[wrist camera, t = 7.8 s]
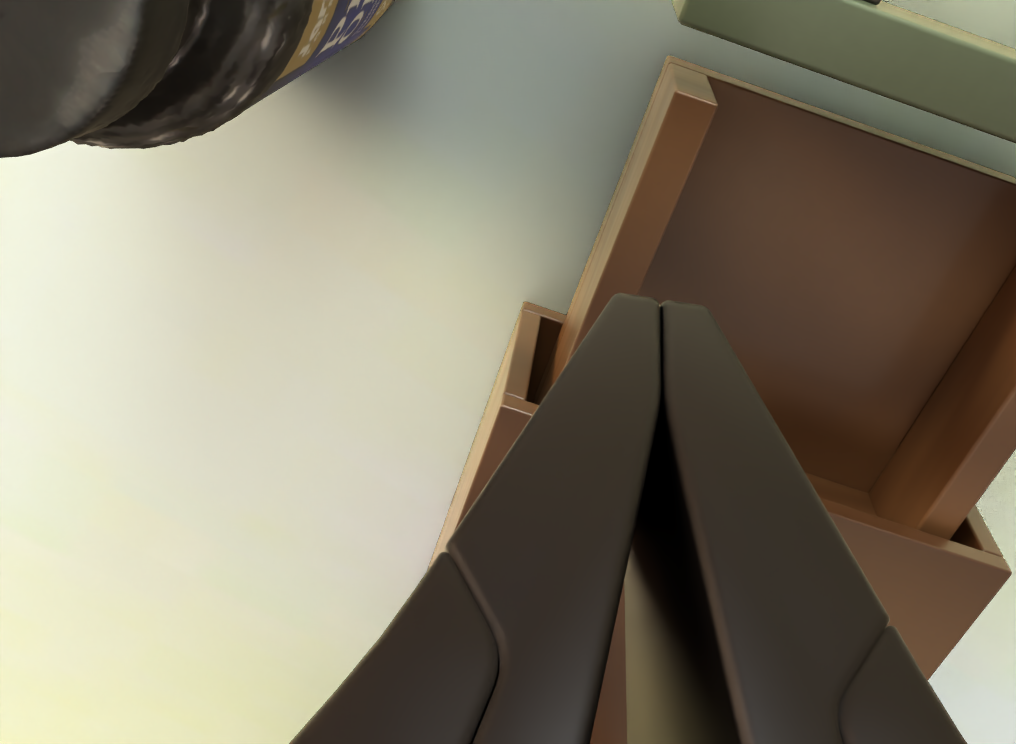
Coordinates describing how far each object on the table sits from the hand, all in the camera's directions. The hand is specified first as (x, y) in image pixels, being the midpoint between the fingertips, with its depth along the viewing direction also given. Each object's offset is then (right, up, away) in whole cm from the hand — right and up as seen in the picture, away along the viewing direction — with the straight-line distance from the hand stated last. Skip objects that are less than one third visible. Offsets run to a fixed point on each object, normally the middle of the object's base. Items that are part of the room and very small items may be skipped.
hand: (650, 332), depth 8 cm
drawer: (+6, +4, +11) cm, 13 cm away
